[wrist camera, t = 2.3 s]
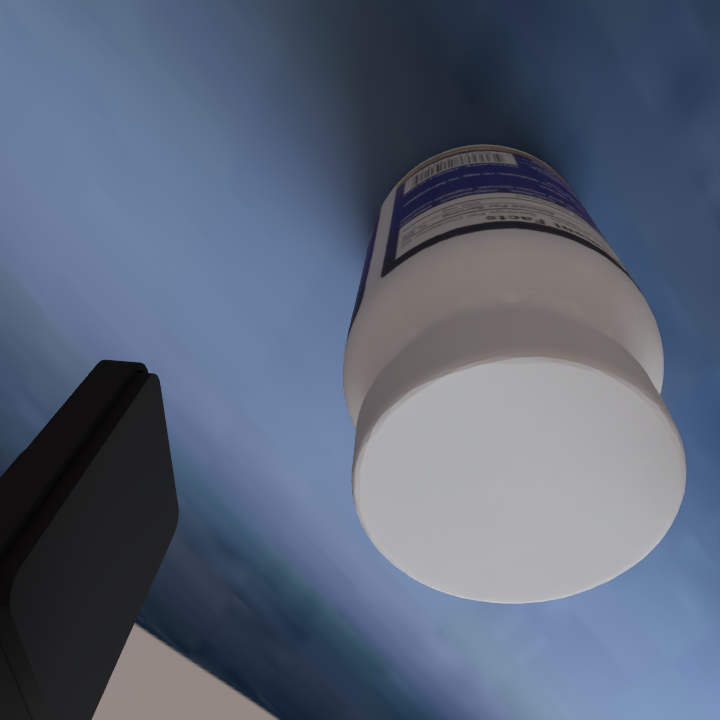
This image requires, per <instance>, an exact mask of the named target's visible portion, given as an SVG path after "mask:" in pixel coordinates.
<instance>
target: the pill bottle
mask: <svg viewBox="0 0 720 720" xmlns="http://www.w3.org/2000/svg"><path fill="white" fill-rule="evenodd" d="M663 370H664V362H663V349H662V343H661V338H660V334H659V330H658V327H657V324H656V321H655V318H654V316H653V314H652V312H651V310H650V308H649V306H648V304H647V302H646V300H645V298H644V297H643V295H642V293H641V291H640V289H639V287H638V286H637V285H636V283H635V282H634V281H633V279H632V278H631V276H630V275H629V274H628V272H627V271H626V269H625V268H624V266H623V265H622V264H621V262H620V261H619V259H618V257H617V256H616V254H615V253H614V251H613V250H612V248H611V247H610V245H609V244H608V243H607V241H606V240H605V238H604V237H603V235H602V234H601V232H600V231H599V229H598V228H597V226H596V225H595V223H594V222H593V220H592V219H591V217H590V216H589V214H588V213H587V211H586V210H585V208H584V207H583V205H582V204H581V202H580V201H579V199H578V198H577V196H576V195H575V193H574V192H573V190H572V189H571V188H570V187H569V185H568V184H567V183H566V182H565V181H564V179H563V178H562V177H561V176H560V175H559V174H558V173H557V172H556V171H554V170H553V169H552V168H551V167H550V166H549V165H547V164H546V163H544V162H543V161H541V160H539V159H538V158H536V157H534V156H532V155H530V154H528V153H525V152H523V151H520V150H517V149H514V148H509V147H504V146H498V145H485V144H480V145H469V146H463V147H458V148H454V149H451V150H448V151H444V152H442V153H440V154H437V155H435V156H433V157H431V158H429V159H427V160H425V161H424V162H422V163H420V164H419V165H418V166H416V167H415V168H413V169H412V170H411V171H410V172H409V173H407V174H406V175H405V176H404V177H403V178H402V179H401V180H400V181H399V182H398V184H397V185H396V186H395V187H394V188H393V189H392V191H391V192H390V194H389V195H388V197H387V198H386V200H385V201H384V203H383V205H382V207H381V209H380V211H379V213H378V216H377V218H376V220H375V223H374V226H373V229H372V233H371V237H370V241H369V245H368V250H367V254H366V259H365V263H364V268H363V272H362V277H361V281H360V285H359V289H358V294H357V298H356V302H355V306H354V311H353V315H352V318H351V323H350V328H349V332H348V337H347V342H346V347H345V355H344V365H343V387H344V394H345V399H346V404H347V408H348V411H349V415H350V418H351V420H352V422H353V425H354V427H355V429H356V436H355V448H354V456H353V465H352V494H353V499H354V505H355V509H356V511H357V514H358V517H359V519H360V522H361V524H362V527H363V528H364V530H365V532H366V533H367V535H368V537H369V538H370V540H371V541H372V542H373V544H374V545H375V547H376V548H377V549H378V550H379V551H380V552H381V553H382V554H383V555H384V556H385V557H386V558H387V559H388V560H389V561H390V562H391V563H392V564H393V565H395V566H396V567H397V568H399V569H400V570H402V571H403V572H404V573H406V574H407V575H409V576H410V577H412V578H413V579H415V580H417V581H419V582H420V583H423V584H425V585H427V586H429V587H431V588H433V589H436V590H439V591H441V592H444V593H447V594H451V595H454V596H457V597H461V598H466V599H472V600H478V601H483V602H494V603H504V604H508V603H529V602H541V601H548V600H554V599H559V598H563V597H567V596H570V595H574V594H577V593H581V592H583V591H586V590H589V589H591V588H594V587H596V586H598V585H601V584H603V583H605V582H607V581H610V580H612V579H613V578H615V577H617V576H618V575H620V574H622V573H623V572H625V571H627V570H628V569H630V568H631V567H632V566H634V565H635V564H636V563H638V562H639V561H640V560H642V559H643V558H644V557H645V556H646V555H647V554H648V553H649V552H650V551H651V550H652V549H653V548H654V547H655V546H656V545H657V544H658V543H659V542H660V541H661V539H662V538H663V537H664V535H665V534H666V532H667V531H668V529H669V528H670V526H671V524H672V522H673V520H674V518H675V517H676V515H677V512H678V510H679V507H680V505H681V502H682V499H683V496H684V492H685V486H686V458H685V452H684V447H683V443H682V439H681V437H680V435H679V432H678V430H677V427H676V425H675V423H674V421H673V419H672V417H671V415H670V413H669V411H668V409H667V407H666V405H665V403H664V401H663V400H662V398H661V396H660V393H661V388H662V382H663Z"/></svg>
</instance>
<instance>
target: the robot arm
mask: <svg viewBox="0 0 720 720" xmlns="http://www.w3.org/2000/svg"><path fill="white" fill-rule="evenodd" d="M178 512H179V511H178V502H177V495H176V488H175V481H174V474H173V468H172V461H171V454H170V447H169V441H168V434H167V427H166V420H165V413H164V407H163V400H162V393H161V386H160V381H159V378H158V376H157V375H156V374H152V373H148V370H147V368H146V366H145V365H144V364H143V363H139V362H127V361H114V360H102V361H100V362H99V363H98V364H97V365H96V366H95V367H94V369H93V370H92V371H91V372H90V373H89V375H88V376H87V377H86V378H85V379H84V381H83V382H82V383H81V384H80V385H79V387H78V388H77V389H76V390H75V391H74V392H73V394H72V395H71V396H70V397H69V398H68V400H67V401H66V402H65V403H64V404H63V406H62V407H61V408H60V409H59V410H58V412H57V413H56V414H55V415H54V416H53V418H52V419H51V420H50V421H49V422H48V424H47V425H46V426H45V427H44V428H43V430H42V431H41V432H40V433H39V434H38V436H37V437H36V438H35V439H34V440H33V441H32V443H31V444H30V445H29V446H28V447H27V449H25V450H24V451H23V452H22V453H21V454H20V455H19V456H18V457H17V459H16V460H15V461H14V462H13V463H12V464H11V466H10V467H9V468H8V469H7V470H6V472H5V473H4V474H3V475H2V476H1V478H0V720H91V719H92V717H93V715H94V712H95V710H96V708H97V706H98V704H99V702H100V699H101V697H102V695H103V693H104V690H105V688H106V686H107V684H108V681H109V679H110V677H111V674H112V672H113V670H114V668H115V666H116V663H117V661H118V659H119V657H120V654H121V652H122V650H123V647H124V645H125V643H126V640H127V638H128V636H129V634H130V632H131V630H132V627H133V625H134V623H135V621H136V618H137V616H138V614H139V612H140V609H141V607H142V605H143V603H144V600H145V598H146V596H147V594H148V591H149V589H150V587H151V585H152V582H153V580H154V578H155V576H156V573H157V571H158V569H159V567H160V564H161V562H162V560H163V558H164V555H165V553H166V551H167V549H168V546H169V544H170V542H171V540H172V537H173V535H174V533H175V530H176V526H177V522H178Z"/></svg>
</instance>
